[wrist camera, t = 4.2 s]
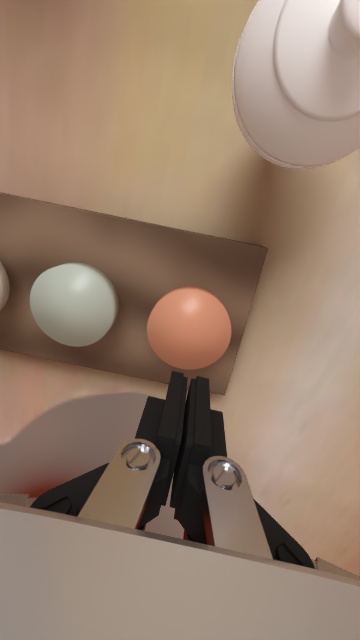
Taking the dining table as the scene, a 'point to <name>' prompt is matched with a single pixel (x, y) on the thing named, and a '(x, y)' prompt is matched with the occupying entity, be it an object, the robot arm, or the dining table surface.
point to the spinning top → (299, 81)
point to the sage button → (74, 303)
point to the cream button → (3, 286)
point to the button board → (120, 282)
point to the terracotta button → (189, 328)
